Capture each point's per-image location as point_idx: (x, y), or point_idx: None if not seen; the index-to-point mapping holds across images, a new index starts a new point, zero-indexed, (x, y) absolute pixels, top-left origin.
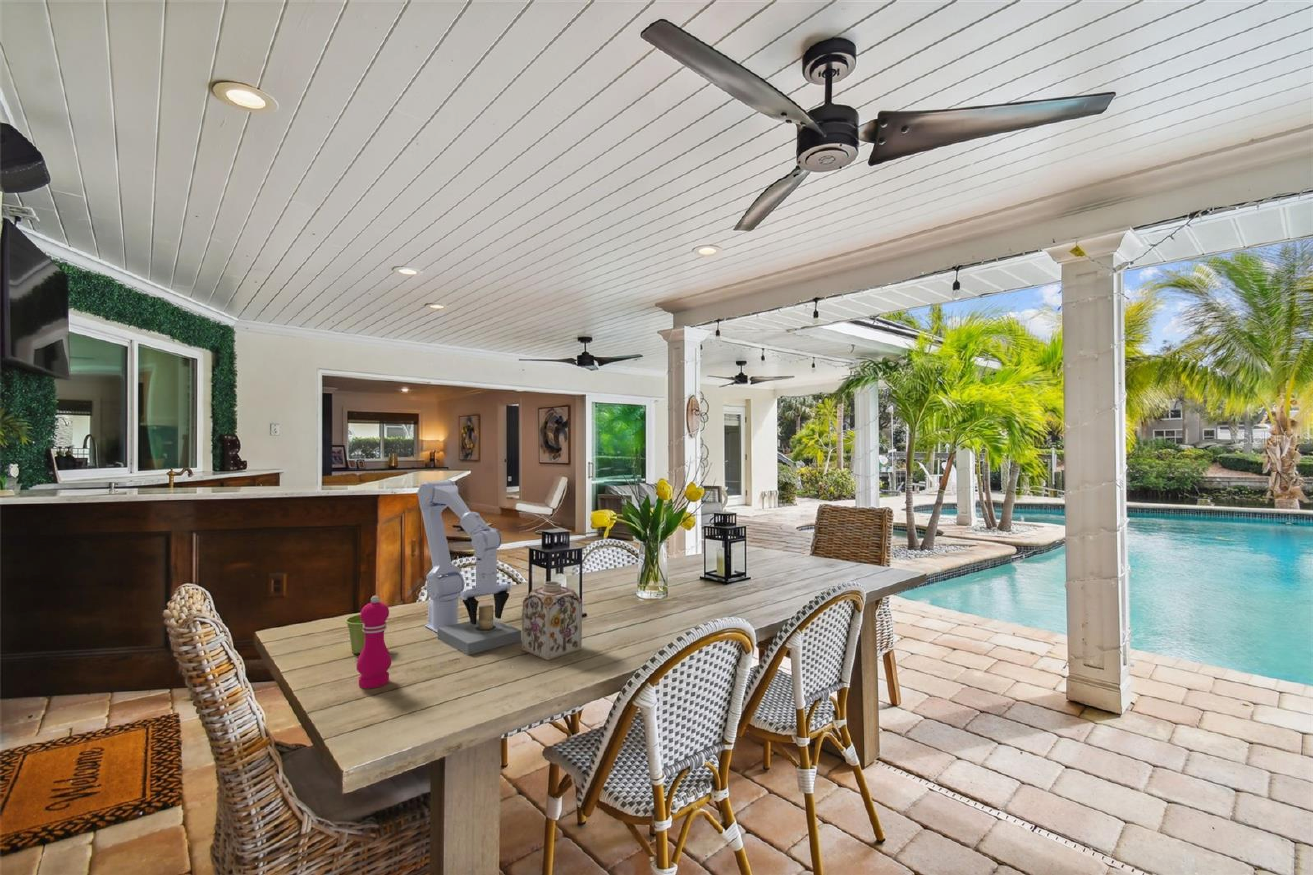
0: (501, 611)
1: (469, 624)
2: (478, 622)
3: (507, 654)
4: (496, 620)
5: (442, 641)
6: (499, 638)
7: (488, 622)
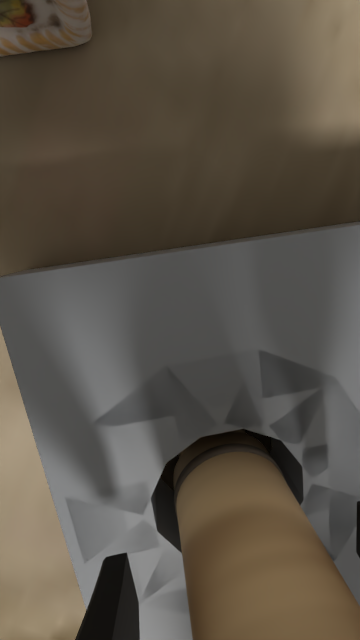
0: (90, 637)
1: None
2: None
3: (224, 38)
4: None
5: None
6: (222, 243)
7: (253, 494)
